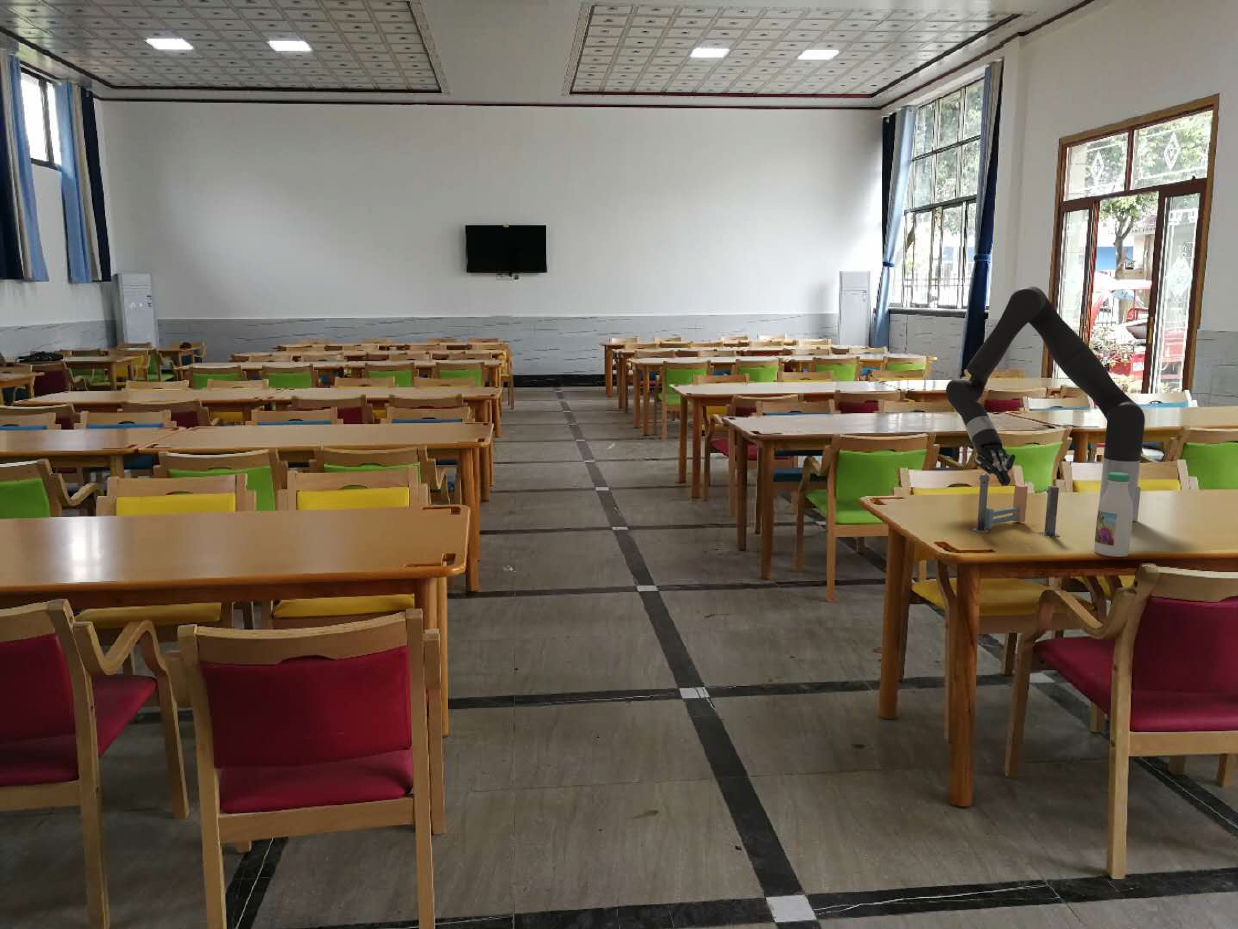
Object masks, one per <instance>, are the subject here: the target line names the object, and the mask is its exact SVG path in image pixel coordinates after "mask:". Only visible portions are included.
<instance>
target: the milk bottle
mask: <svg viewBox="0 0 1238 929" xmlns="http://www.w3.org/2000/svg"><path fill="white" fill-rule="evenodd" d="M1129 479H1130V475H1129V474H1126V473H1120V472H1111V473H1109V474H1108V482H1109V484H1108V488H1107V490H1106V492H1105V493H1104V495H1103V497H1102V498H1101V500H1100V499H1099V500H1100V503H1099V502H1098V508H1097V515H1096V525H1095V536H1094V545H1093V549H1094V552H1095V553H1096V554H1098V555H1102V556H1106V557H1107V556H1108V557H1112V558H1113V557H1114V558H1122V557H1128V556H1129V555H1130V551H1131V550H1130V549H1131V539H1132V529H1133V522H1134V521H1133V503H1132V500H1131V497H1130V495H1129V492H1128V483H1129Z"/></svg>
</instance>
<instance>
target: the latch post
mask: <svg viewBox="0 0 1238 929" xmlns="http://www.w3.org/2000/svg"><path fill="white" fill-rule="evenodd" d="M1047 486H1048V488H1047V496H1046V497H1047V499H1046V513H1045V519H1044V520H1045V522H1044V531H1039V533H1038V534H1040V535H1041V534H1042V535H1041V536H1043V535H1044V536H1049V537H1048V538H1061V536H1060V534H1058V533H1057V532H1056V528H1057V527H1056V526H1057V515H1058V514H1057V513H1058V504H1059V492H1060V487H1059V486H1058V485H1047ZM1044 536H1043V537H1044Z"/></svg>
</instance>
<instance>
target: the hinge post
mask: <svg viewBox="0 0 1238 929" xmlns="http://www.w3.org/2000/svg"><path fill="white" fill-rule="evenodd" d="M978 478H979V482H980V483H979V495H978V496H979V497H978V506H977V507H978V509H977V510H978V511H977V521H976V527H974V528H972V531H973V532H975V533H981V532H987V533H989V531H990V530H989V529H988V528H985V520H986V508H988V507H987V505H988V494H989V493H988V491H989V482H990V480H991V479H990V478H991V477H990V474H988V473H982V474H980V476H979V477H978ZM981 534H982V533H981Z"/></svg>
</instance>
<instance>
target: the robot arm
mask: <svg viewBox="0 0 1238 929" xmlns="http://www.w3.org/2000/svg"><path fill="white" fill-rule="evenodd" d="M1027 324H1030V326H1031V327H1032V328H1033V329H1034V330H1035V331H1036V332H1037V333H1038V335H1039V336H1040V337H1041V339H1042V340H1043V342H1044V344H1045V347H1046V349H1047V350H1048V352H1049V354H1050V356H1051V358H1052V359H1053V360H1054V362H1055V363H1056V365H1057V366H1058V367H1059V368H1060V369H1061V371H1062V372H1063V373H1064V374H1065V375H1066V377H1067V378H1068V379H1070V381H1071V382H1073V384H1074V385H1075V386H1076V387H1077V388H1079V389H1080V390H1081V391H1083V392H1084V394H1086V395H1087V396H1088V397H1089V398H1090V399H1091V400H1092V401H1093V402H1094V403H1095V405H1096V407H1098V409H1099V411H1100V412H1101V413H1102V415H1103V416H1104V417H1105V419H1106V428H1105V440H1104V446H1103V457H1102V458H1103V460H1102V471H1101V480H1100V482H1101V483H1100V489H1099V490H1100V491H1099V501H1098V504H1099V503H1100V500H1101V498H1102V497H1103V495H1104V493H1105V492H1106V490H1107V488H1108V484H1109V482H1108V474H1109V473H1111V472H1120V473H1126V474H1129V475H1130V479H1129V483H1128V492H1129V495H1130V497H1131V500H1132V503H1133V521H1132V522H1136V521H1138V520H1139V519H1138V518H1139V509H1140V502H1141V501H1140V499H1141V490H1142V489H1141V487H1140V486H1139V476H1140V467H1141V457H1142V456H1141V455H1142V450H1143V445H1144V444H1143V443H1144V436H1145V435H1144V432H1145V427H1146V426H1145V425H1146V419H1145V418H1146V417H1145V413H1144V411H1143V409H1142V407H1141V406H1139V404H1137V403H1136V402H1135V401H1134V400H1133V399H1132V398H1130V397H1129V396H1128V394H1126V393H1125V392H1124V391H1123V390H1122V389H1121V388H1120V387H1119V386H1118V385H1117V384H1116V383H1115V382H1114V380H1113V378H1112V377H1111V375H1110V374H1109V372H1108V370H1107V369H1106V368H1105V366H1104V364H1103V363H1102V362H1101V360H1100V359H1099V358H1098V356H1097V355H1096V353H1095V352H1094V351H1093V350H1092V349H1091V348H1090V347H1089V345H1087V343H1086V342H1085V341H1084V340H1083V338H1081V337H1080V335H1079V334H1077V332H1075V331H1074V330H1073V328H1071V326H1070V325H1069V324H1068V323H1066V322H1065V320H1064V319H1063V317H1061V316H1060V315H1059V312H1058V311H1057V310H1056V309H1055V307H1054V306H1053V305H1052V303H1051V301H1050V300H1049V298H1048V297H1047V295H1046V294H1045V293H1044V291H1043V290H1042V289H1040V287H1037V286H1033V285H1027V286H1023V287H1020V288H1018V289H1017V290H1015V291H1014V292H1013V293H1012V294H1011V296H1010V297H1009V300H1008V302H1007V305H1006V306H1005V308H1004V310H1003V313H1002V315H1001V317H1000V319H999V320H998V321H997V324H996V325H995V327H994V329H992V331H991V332H990V334H989V335H988V337H987V338H986V340H984V342H982V344H981V346H980V347H979V348H978V350H977V351H976V353H975V354H974V355H973V357H972V358H971V360H970V361H969V362H968V364H967V367H966V371H967V373H968V374H969V375H970V377H969V379H968V380H965V379H961V378H954V379H951V380H949V382H948V383H947V385H946V386H945V394H946V398H947V400H948V402H949V403H950V404H951V406H952V407H953V409H954V410H955V411H956V412H957V413H958V414H959V416H960V417H961V420H962V422H963V424H964V426H965V428H966V431H967V434H968V435H967V436H968V437H969V439H970V441H971V443H972V445H973V446H972V447H974V449H975V452H976V454H977V456H976V458H975V459H974V460H973V463H974V464H975V465H977V467H979V468H980V469H982V470H983V471H985V473H986V474H988V475H992V474H993V475H994V476H996V479H997V482H998V483H999V484H1000V485H1001V486H1002V487H1006V486H1007V487H1008V486H1009V484H1010V483H1011V482H1012V481H1011V477H1010V475H1009V472H1010V471H1011V470H1012V468H1013V466H1014V463H1015V459H1016V457H1017V456H1016V455H1015V454H1014V453H1013V454H1008V453H1007V451H1006V449H1004V447H1003V442H1002V439H1001V438H1000V435H999V434H998V431H997V428H996V427H995V424H994V423H993V422H992V420H991V418H990V417H989V414H988V412H987V411H986V409H985V406H984V405H983V404H982V403H980V402H978V401H979V400H980V399H981V397H982V396H983V393H984V391H985V388H986V386H987V384H988V380H989V378H990V376H991V375H992V373H993V372H994V371H995V369H996V368H997V367H998V365H999V363H1000V362H1001V361H1002V359H1003V357H1005V355H1006V352H1007V351H1008V349H1009V347H1010V346H1011V344H1012V342H1013V341H1014V339H1015V337H1016V336H1017V335H1018V334H1019V333H1020V332H1021V331H1022V329H1023V328H1024V327H1025V326H1026V325H1027Z"/></svg>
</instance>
